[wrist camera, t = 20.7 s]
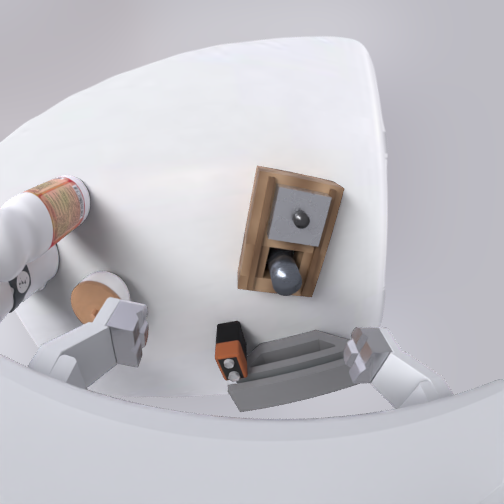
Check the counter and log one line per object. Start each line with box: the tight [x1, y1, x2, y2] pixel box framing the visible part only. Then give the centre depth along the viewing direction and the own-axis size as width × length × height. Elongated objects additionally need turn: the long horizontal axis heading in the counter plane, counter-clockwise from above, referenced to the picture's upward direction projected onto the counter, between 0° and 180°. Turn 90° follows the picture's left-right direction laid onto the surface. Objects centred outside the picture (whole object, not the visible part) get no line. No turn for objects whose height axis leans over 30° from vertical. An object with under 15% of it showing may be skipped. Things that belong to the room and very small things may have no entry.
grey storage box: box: [228, 330, 360, 412], centre depth 51 cm, size 25×8×11 cm, turn 105°
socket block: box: [238, 166, 344, 297], centre depth 41 cm, size 12×18×6 cm, turn 170°
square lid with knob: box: [267, 183, 332, 247], centre depth 36 cm, size 7×7×4 cm
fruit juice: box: [0, 175, 90, 282], centre depth 27 cm, size 9×9×28 cm
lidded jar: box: [71, 271, 131, 324], centre depth 43 cm, size 11×11×9 cm
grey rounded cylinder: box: [267, 247, 302, 296], centre depth 41 cm, size 4×4×10 cm
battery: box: [215, 321, 248, 382], centre depth 48 cm, size 4×7×10 cm, turn 12°
